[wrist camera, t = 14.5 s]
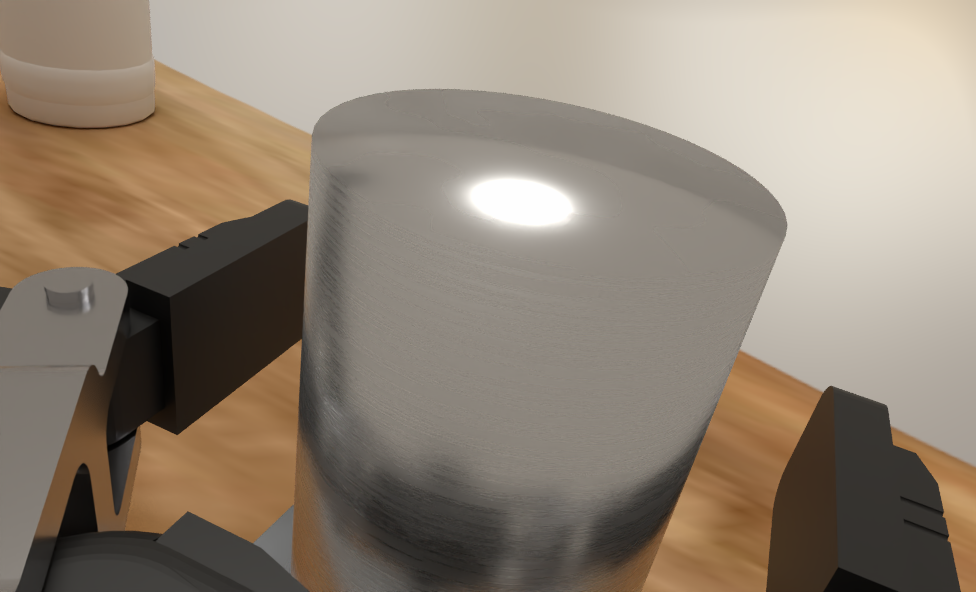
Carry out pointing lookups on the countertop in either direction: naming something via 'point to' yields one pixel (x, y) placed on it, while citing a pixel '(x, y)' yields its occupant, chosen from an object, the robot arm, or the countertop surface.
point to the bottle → (78, 61)
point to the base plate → (279, 540)
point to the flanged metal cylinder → (511, 340)
